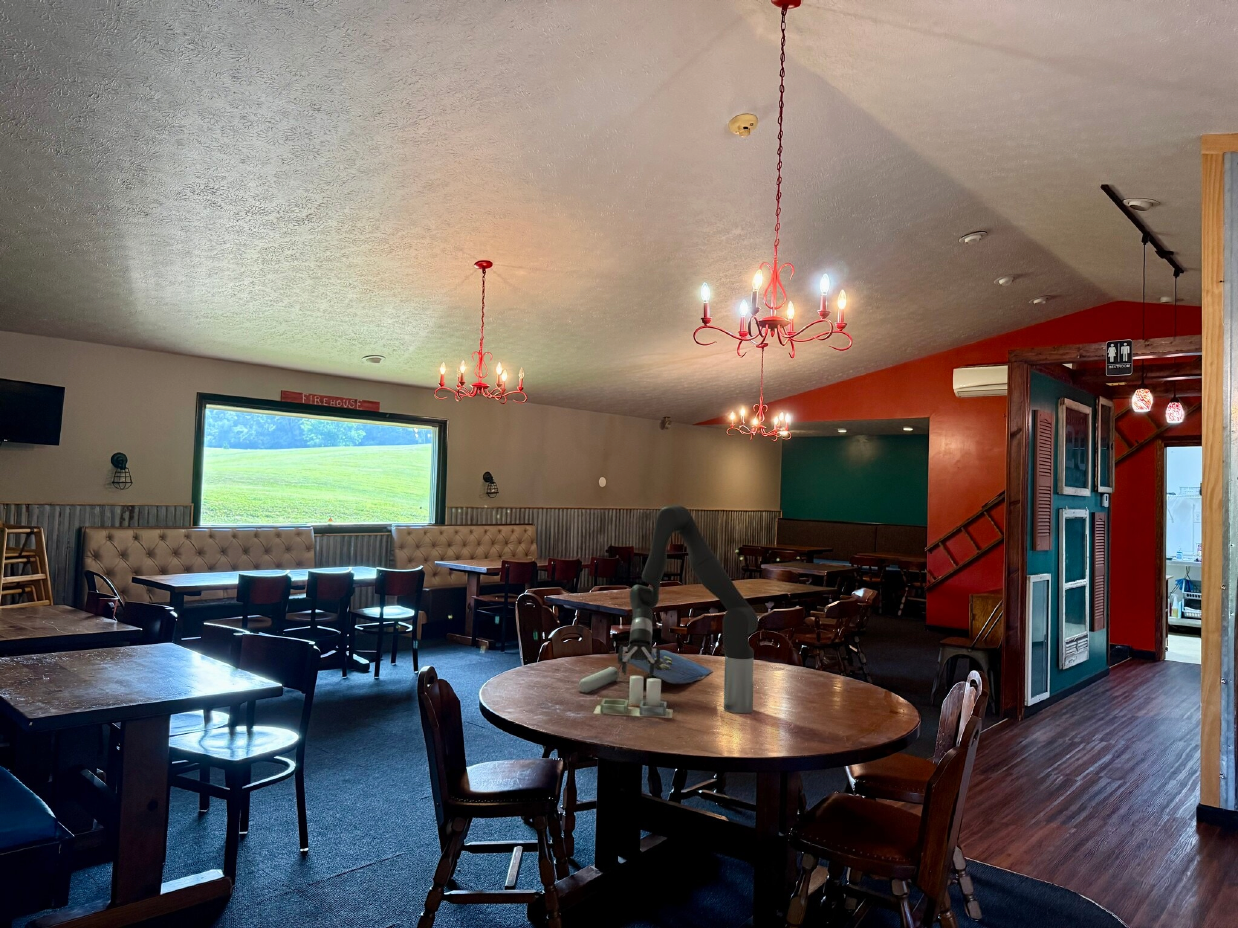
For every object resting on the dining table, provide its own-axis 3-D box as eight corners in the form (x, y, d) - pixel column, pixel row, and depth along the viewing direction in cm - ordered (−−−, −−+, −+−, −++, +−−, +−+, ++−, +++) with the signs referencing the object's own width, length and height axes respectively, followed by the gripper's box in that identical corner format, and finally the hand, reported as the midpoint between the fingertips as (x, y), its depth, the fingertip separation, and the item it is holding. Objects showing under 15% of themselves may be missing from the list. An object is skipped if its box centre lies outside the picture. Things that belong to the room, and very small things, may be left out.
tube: (591, 683, 279) (621, 670, 301) (578, 676, 281) (609, 664, 304) (586, 697, 279) (616, 683, 302) (573, 690, 281) (604, 677, 304)
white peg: (643, 707, 263) (644, 675, 264) (642, 710, 258) (643, 678, 259) (629, 706, 263) (630, 675, 264) (628, 709, 259) (629, 678, 259)
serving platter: (650, 668, 337) (658, 642, 337) (709, 695, 325) (718, 668, 325) (603, 680, 296) (613, 651, 296) (669, 712, 284) (679, 681, 284)
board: (672, 714, 255) (672, 701, 255) (671, 722, 245) (672, 709, 245) (597, 710, 257) (597, 697, 257) (593, 718, 247) (593, 704, 247)
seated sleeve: (660, 710, 253) (661, 678, 253) (660, 714, 248) (661, 681, 249) (645, 710, 253) (646, 677, 254) (645, 713, 248) (646, 680, 249)
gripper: (620, 626, 277) (615, 666, 265) (661, 628, 276) (659, 668, 264) (620, 639, 282) (616, 679, 270) (661, 641, 281) (659, 681, 269)
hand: (637, 674), depth 267 cm, fingers open, 8 cm apart
